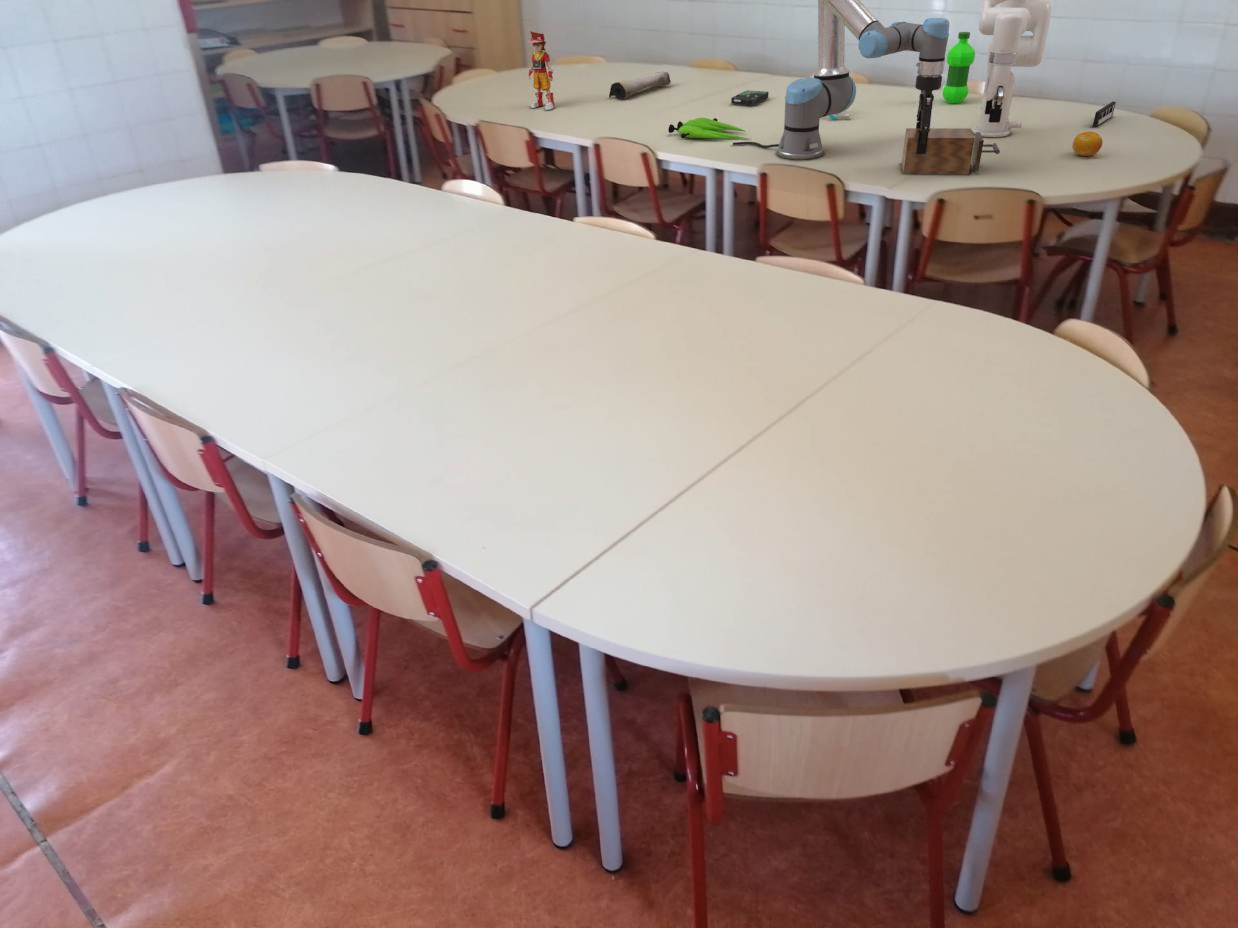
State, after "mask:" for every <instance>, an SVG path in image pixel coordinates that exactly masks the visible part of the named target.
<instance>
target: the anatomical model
mask: <svg viewBox="0 0 1238 928" xmlns="http://www.w3.org/2000/svg"><path fill="white" fill-rule="evenodd" d="M828 117H829V119H831V120H832V121H835V120H838V119H848V118H850V117H851V114H850V113H845V111H843V112H841V113H838V114H833V115H829V116H828Z"/></svg>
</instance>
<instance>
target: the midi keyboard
mask: <svg viewBox="0 0 1238 928" xmlns="http://www.w3.org/2000/svg"><path fill="white" fill-rule="evenodd" d="M1116 103H1117V102H1116V101H1111V102H1109V103H1108V104H1106V105H1104V106H1103V107H1101V108H1100V109H1098V110H1097V111H1096V112H1095V114H1094V118H1093V122H1092V127H1094V128H1096V127H1098V126H1099V125H1100V124H1102V123H1104V122H1105V121H1107V120H1108V119H1109V118H1111V117H1113V115H1114V111H1115V108H1116Z"/></svg>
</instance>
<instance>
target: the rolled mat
mask: <svg viewBox="0 0 1238 928" xmlns="http://www.w3.org/2000/svg"><path fill="white" fill-rule="evenodd" d="M671 83H672V81H671V77H670V74H669V72H668V71H658V72H654V73H649V74H645V75H640V76H637V77H633V78H628V79H623V80H620V81H616V82H613V83H612V84H611V85H610V89H609V95H608V97H609V98H611V97H616V99H620V100H622V101H623V100H626V99H627V98H629V97H630V96H632V95H635V94H636V93H638V92H640V91H643V90H644V89H647V88H650V87H655V86H658V87H659V86H661V87H665V86H669V85H670V84H671Z"/></svg>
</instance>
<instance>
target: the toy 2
mask: <svg viewBox="0 0 1238 928" xmlns="http://www.w3.org/2000/svg"><path fill="white" fill-rule="evenodd" d="M667 131H668V133H669V134H672V133H674V132H675V131H678V134H679V135H680V138H681V139H686V138H691V139H716V140H717V139H718V140H719V139H720V140H721V139H722V140H723V139H725V140H726V139H727V140H728V139H746V140H747V139H749V137H744V136H739V135H735V134H734V135H733V134H729V133H724V131H736V132H746V130H745V129H742V128H740V127H737V126H736V125H735V126H734V125H731V124H729V123H724V122H720V121H718V119H717V118H716V117H714V118H712V119H710V118H708V117H695V118H694V119H691V120H690V119H689V120H687V121H686V122H682V121H678V122H677V125H676V126H675V125H674V124H672V123H670V124H669V126H668V130H667Z"/></svg>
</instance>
